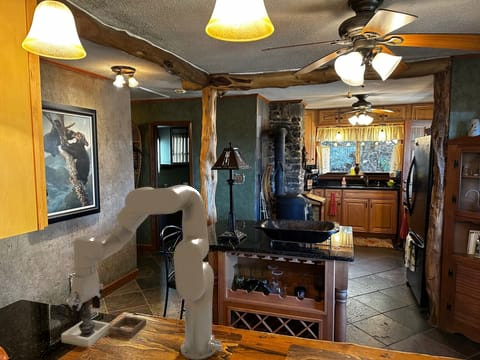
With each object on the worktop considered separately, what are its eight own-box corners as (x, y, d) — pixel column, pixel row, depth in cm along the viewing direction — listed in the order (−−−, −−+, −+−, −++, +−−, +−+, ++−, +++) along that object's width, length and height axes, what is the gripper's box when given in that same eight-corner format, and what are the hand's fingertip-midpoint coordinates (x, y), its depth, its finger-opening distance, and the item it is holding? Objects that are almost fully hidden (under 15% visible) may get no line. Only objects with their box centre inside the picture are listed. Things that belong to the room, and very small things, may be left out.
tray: (110, 330, 128) (110, 323, 128) (88, 347, 117) (88, 339, 116) (85, 325, 131) (85, 318, 131) (61, 342, 120) (61, 334, 120)
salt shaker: (98, 330, 126) (98, 300, 125) (89, 339, 120) (88, 307, 120) (85, 328, 127) (84, 299, 126) (75, 337, 122) (74, 306, 121)
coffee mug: (94, 318, 138) (93, 295, 137) (82, 328, 129) (81, 304, 128) (68, 316, 139) (67, 293, 138) (55, 327, 130) (54, 302, 130)
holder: (146, 325, 133) (146, 319, 133) (131, 338, 123) (131, 331, 123) (125, 321, 135) (125, 315, 135) (109, 333, 126) (109, 327, 126)
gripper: (93, 261, 131) (95, 302, 133) (59, 276, 115) (60, 323, 116) (109, 263, 129) (110, 304, 130) (76, 279, 113) (78, 326, 114)
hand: (87, 313), depth 123 cm, fingers open, 9 cm apart
